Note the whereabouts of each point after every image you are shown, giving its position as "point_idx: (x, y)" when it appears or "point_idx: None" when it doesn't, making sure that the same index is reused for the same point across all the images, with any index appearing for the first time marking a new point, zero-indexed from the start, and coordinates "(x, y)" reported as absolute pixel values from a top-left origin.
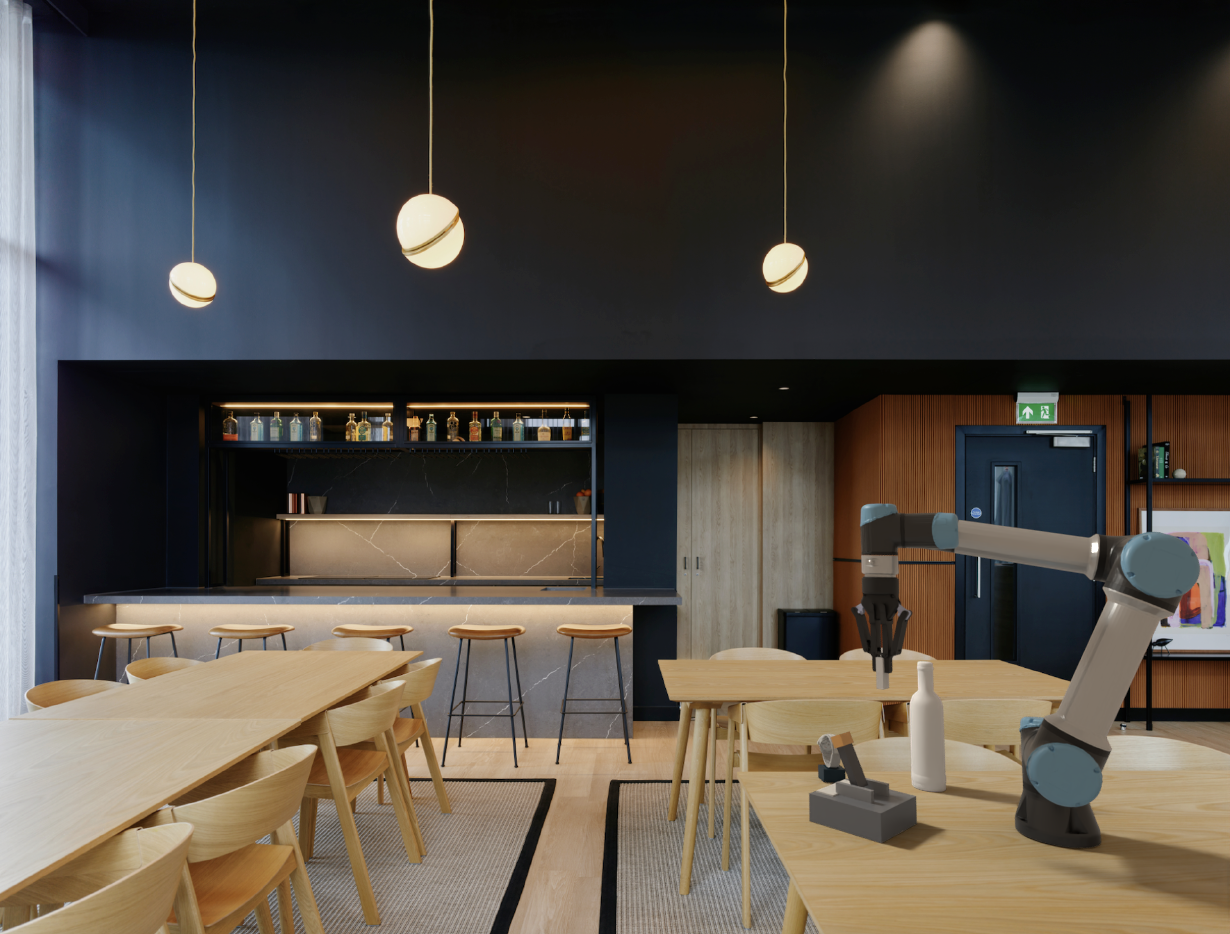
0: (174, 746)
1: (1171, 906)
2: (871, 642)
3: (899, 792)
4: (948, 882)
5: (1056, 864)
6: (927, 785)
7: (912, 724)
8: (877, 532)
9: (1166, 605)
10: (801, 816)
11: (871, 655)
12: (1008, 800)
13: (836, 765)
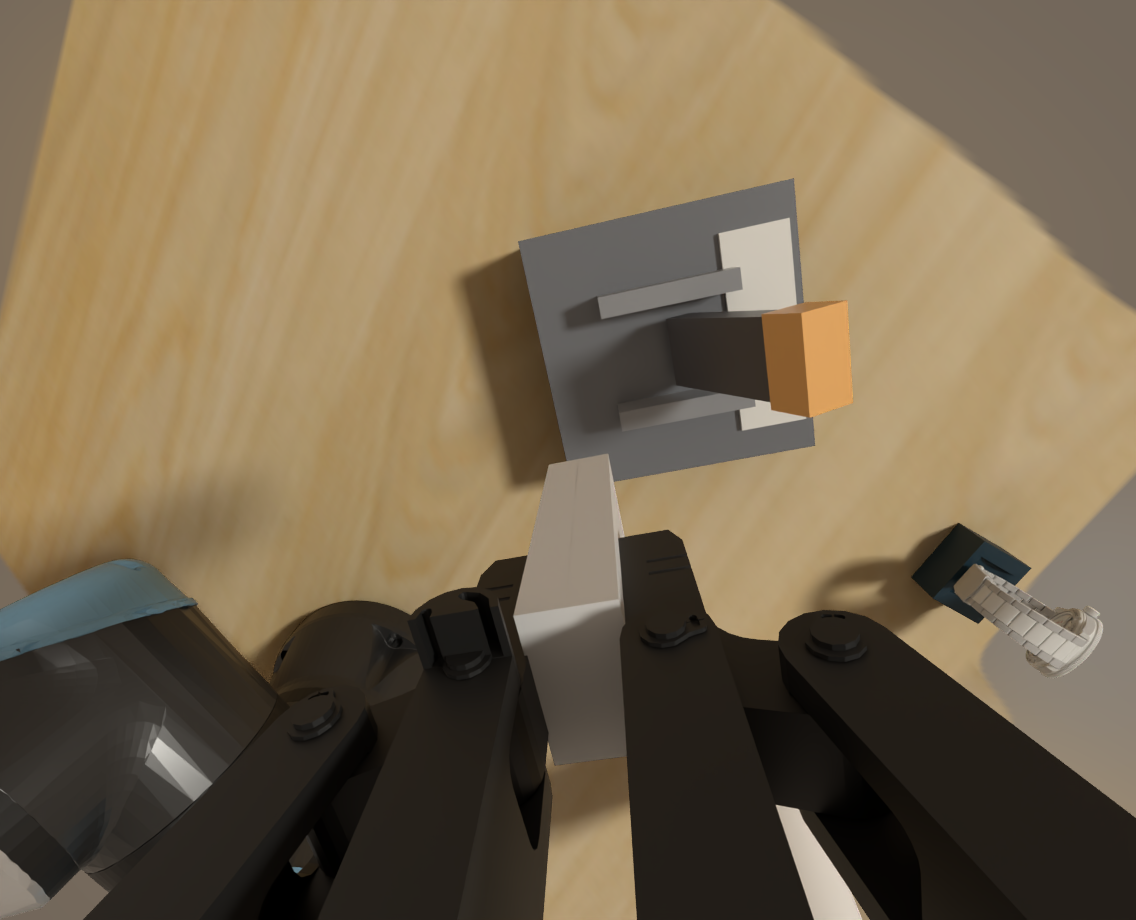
0: None
1: (36, 500)
2: (741, 779)
3: (621, 473)
4: (270, 176)
5: (255, 511)
6: None
7: (819, 860)
8: None
9: None
10: (808, 201)
11: (721, 631)
12: (562, 784)
13: (959, 579)
